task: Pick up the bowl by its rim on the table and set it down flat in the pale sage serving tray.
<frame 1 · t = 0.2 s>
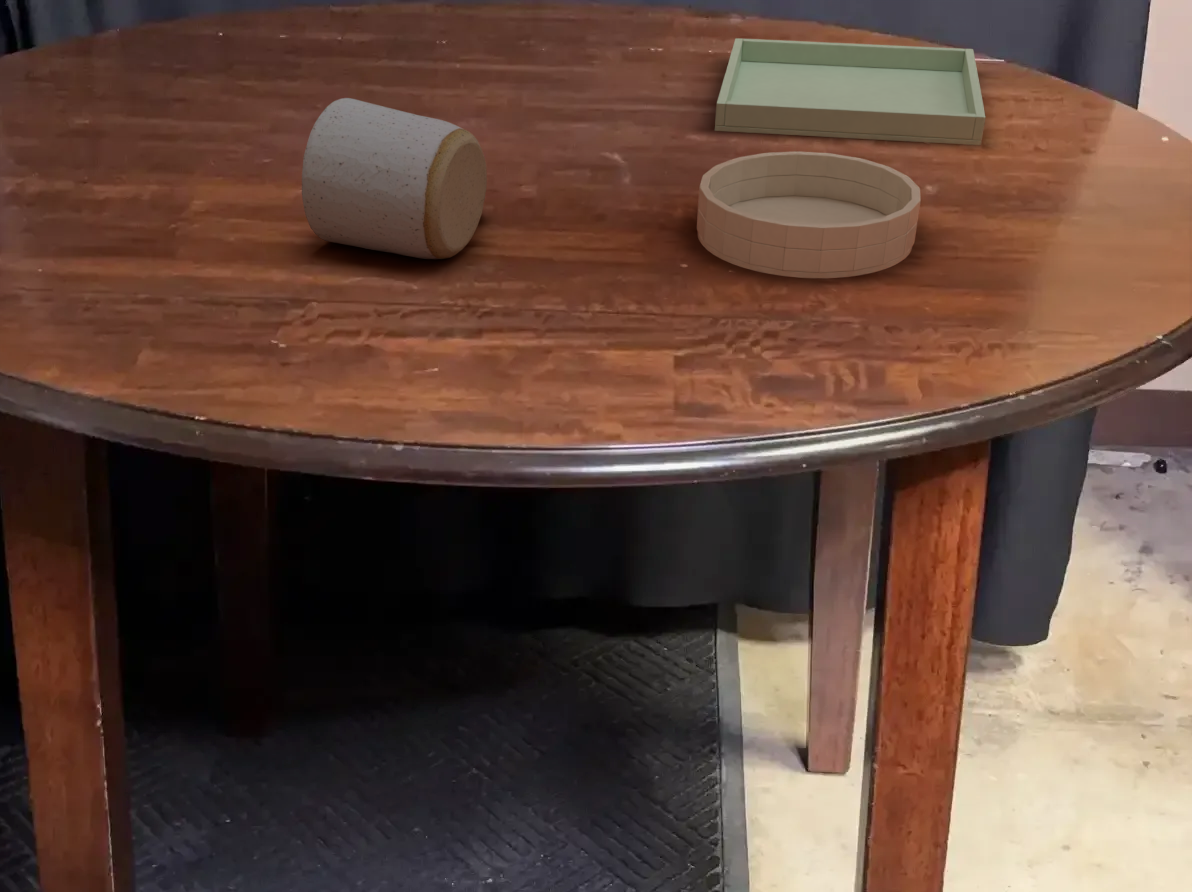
tray: (847, 103, 106), on the table
ceramic mug: (408, 243, 86), on the table
bowl: (803, 239, 85), on the table
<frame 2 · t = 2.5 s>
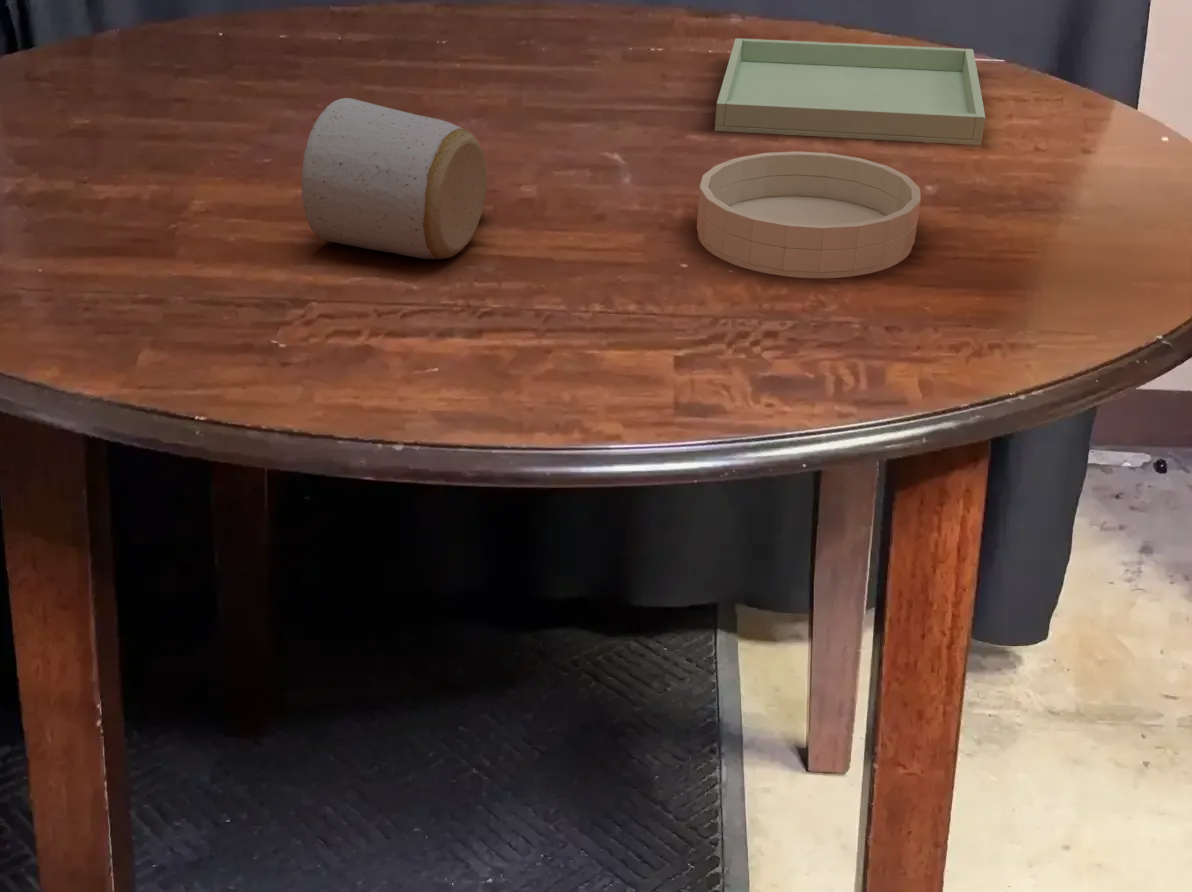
nothing on the table moved.
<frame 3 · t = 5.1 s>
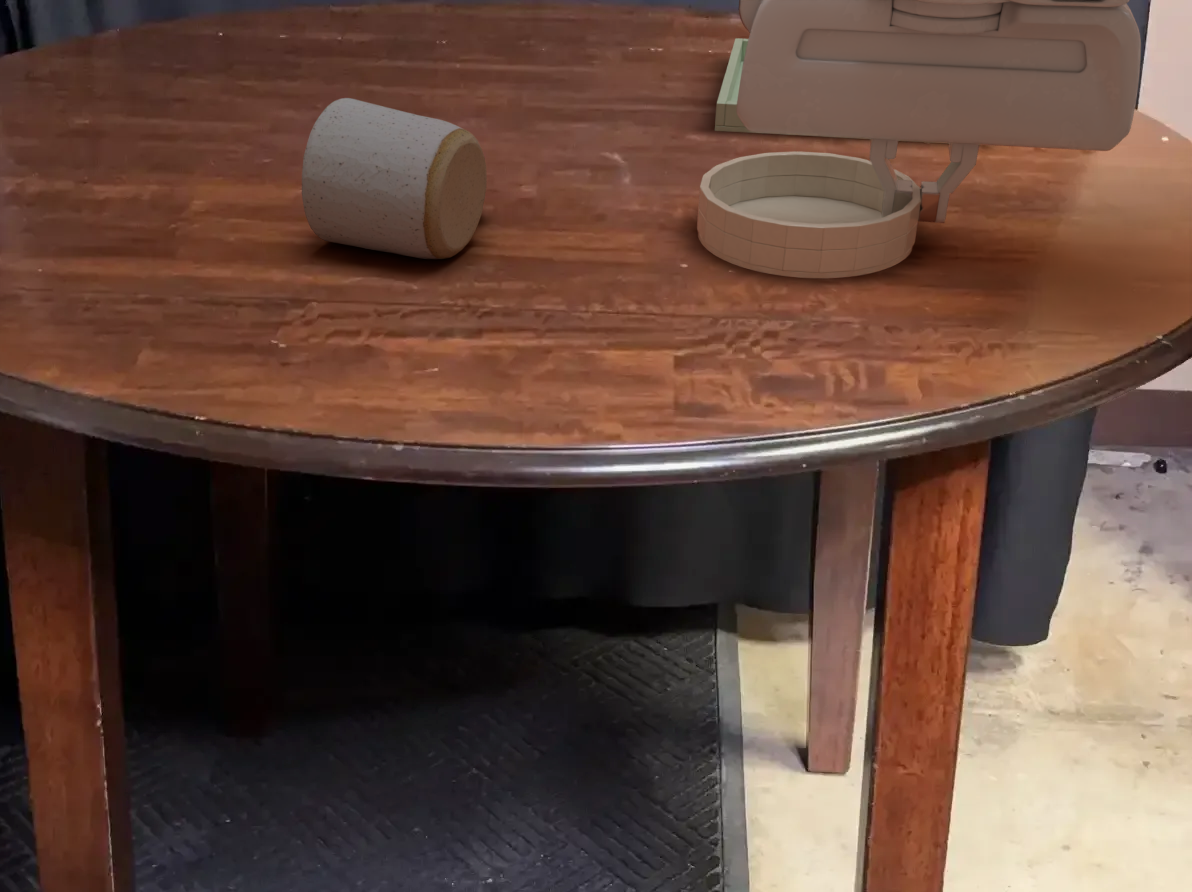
hand: (912, 218, 83), 2 cm above the table, tool pointing down, fingers closed on bowl
bowl: (804, 239, 85), on the table, touching gripper
everything else where it was.
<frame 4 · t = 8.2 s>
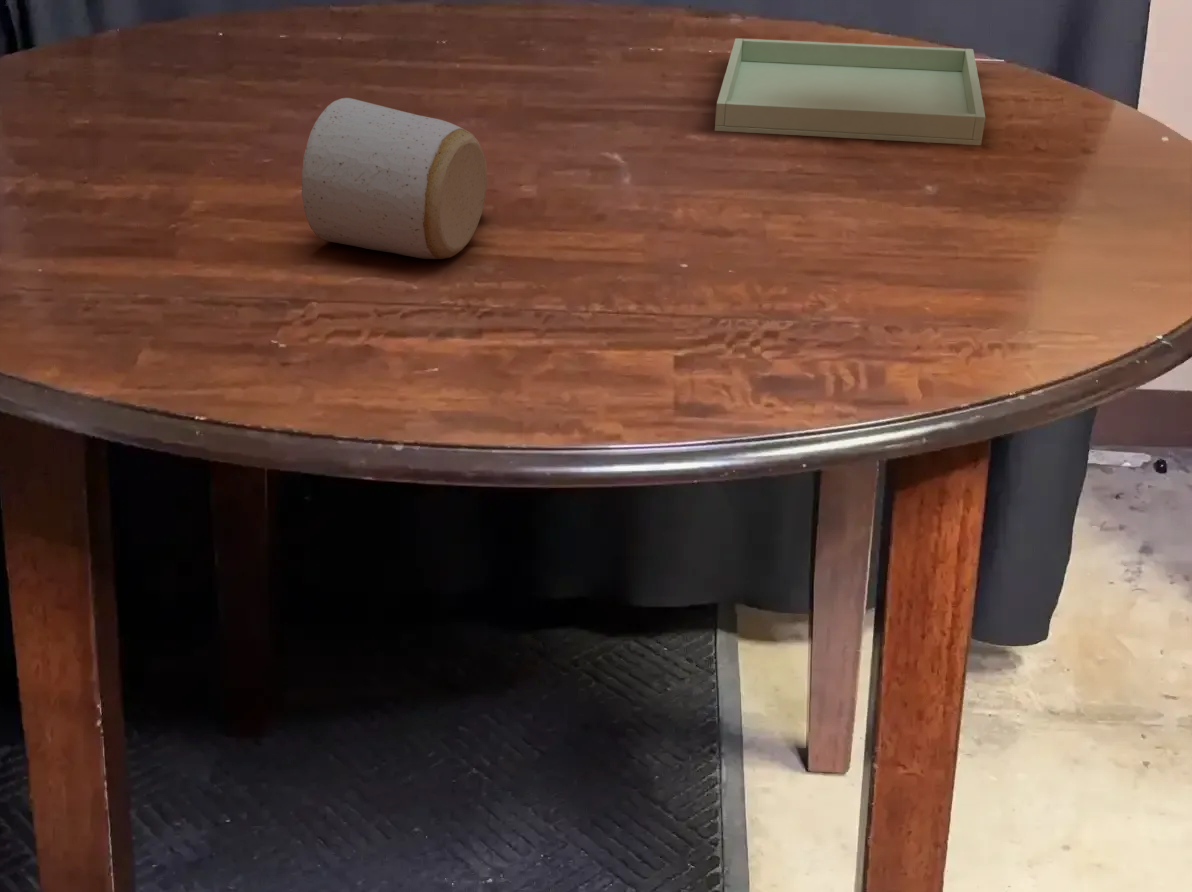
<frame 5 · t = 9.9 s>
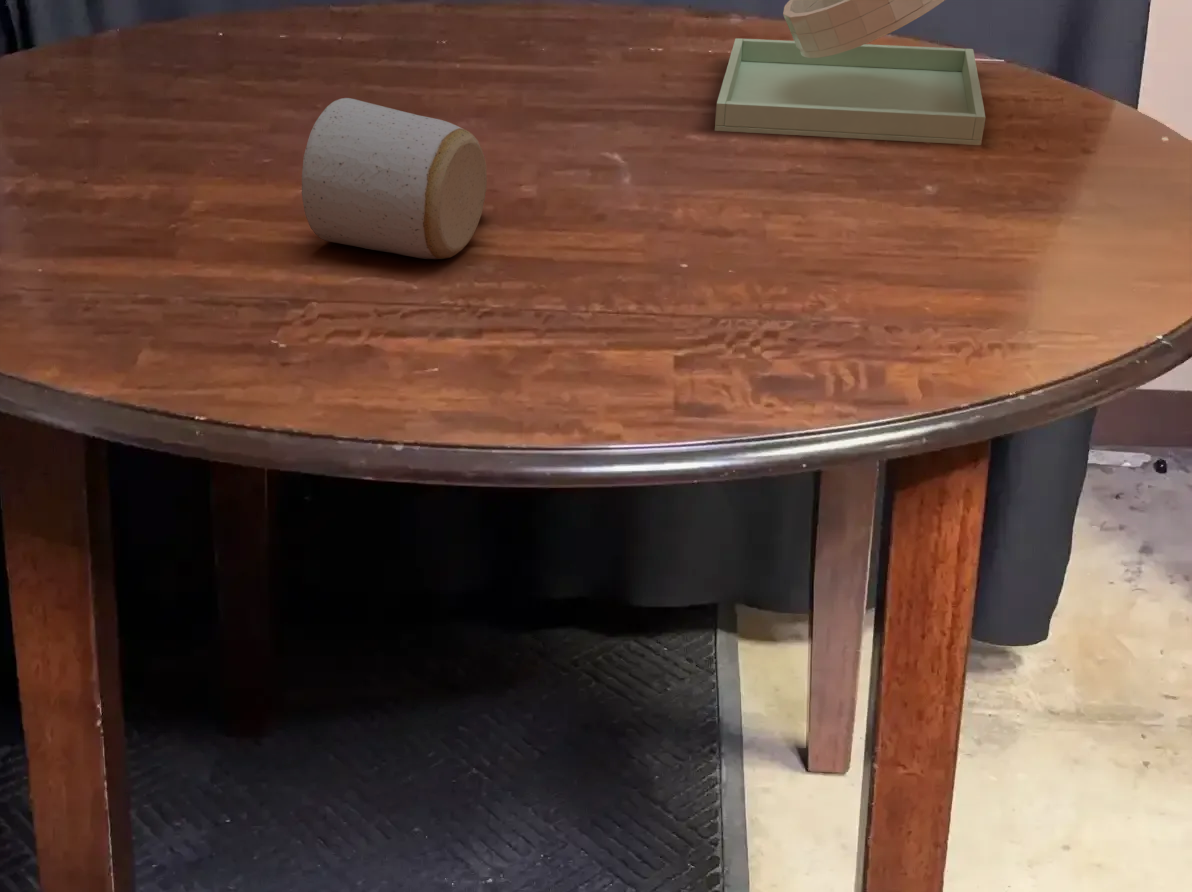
bowl: (884, 10, 102), point 6 cm above the table, tilted 28°, touching gripper
everything else where it was.
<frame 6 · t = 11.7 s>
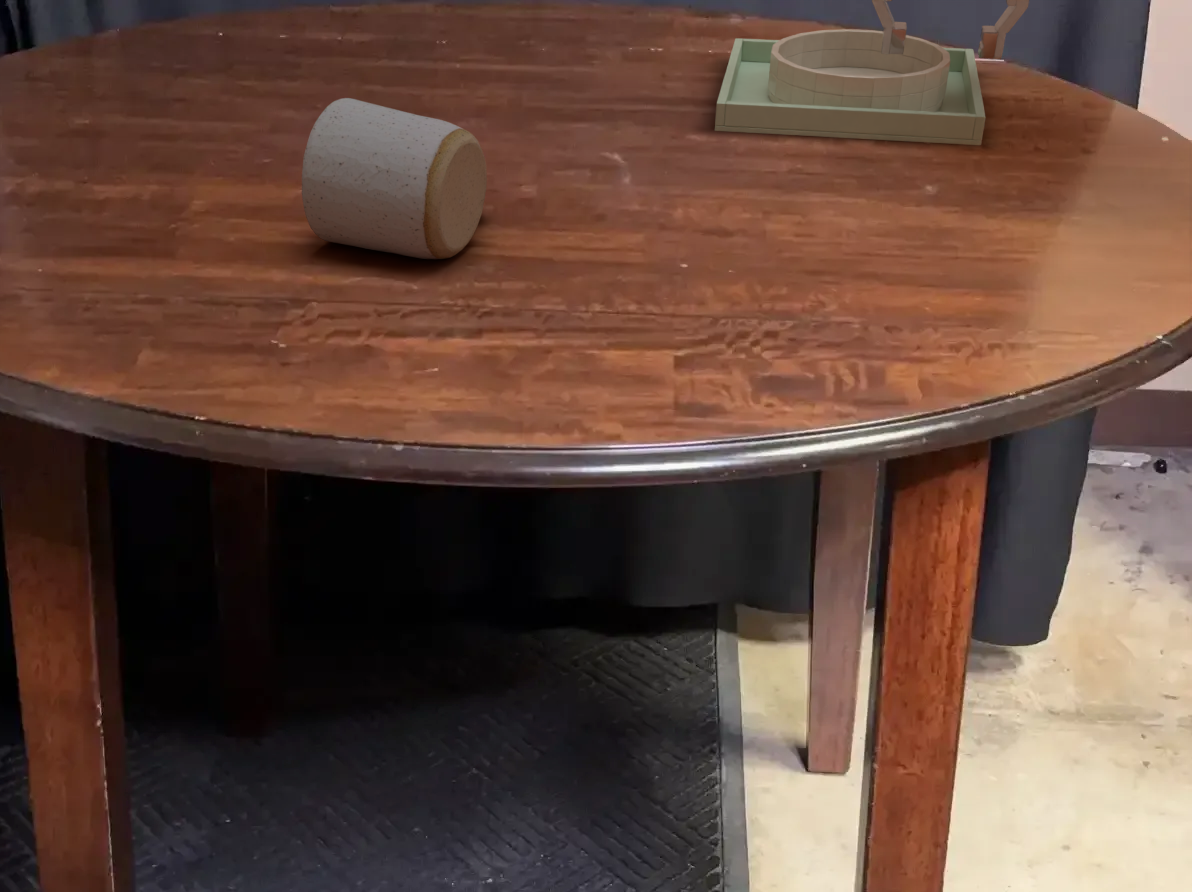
hand: (940, 54, 103), 4 cm above the table, tool pointing down, fingers open, 5 cm apart
bowl: (854, 96, 105), point 1 cm above the table, touching tray
everything else where it was.
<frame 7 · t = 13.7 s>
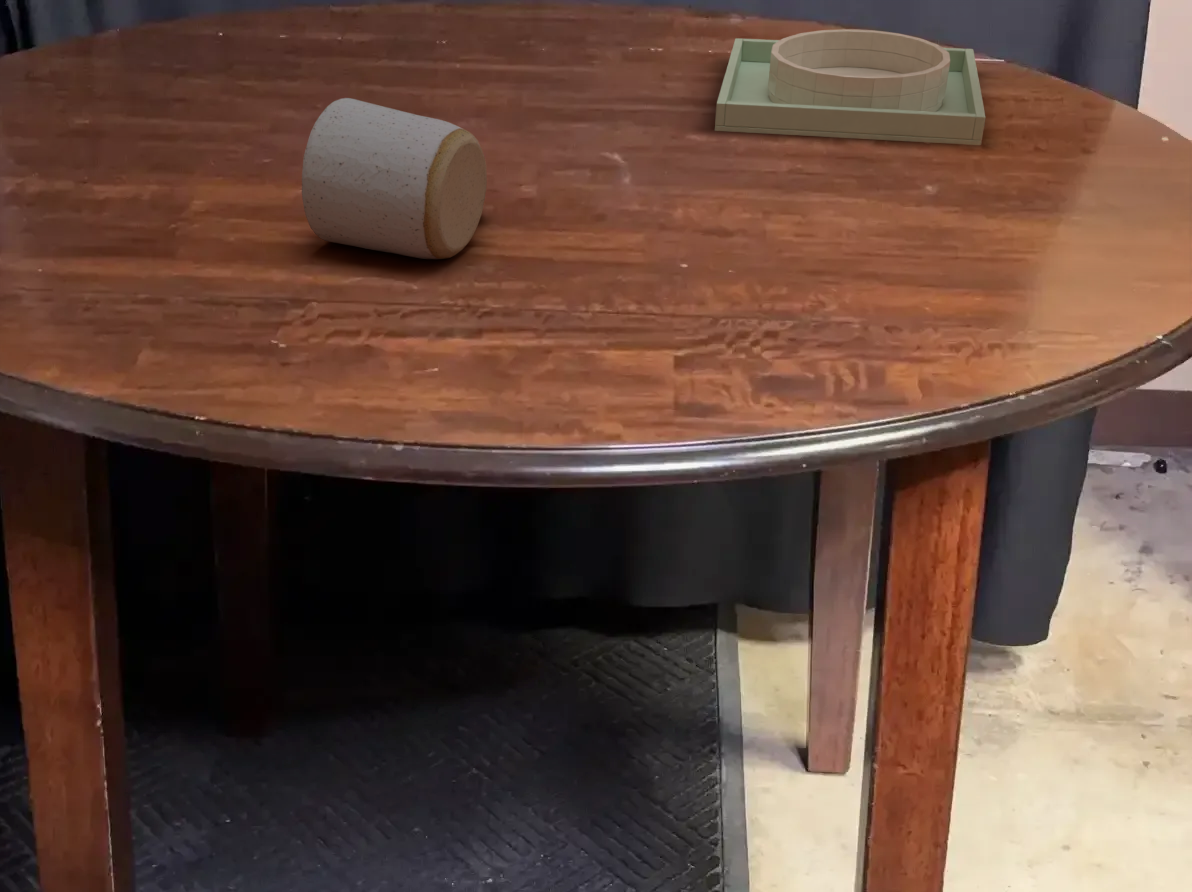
nothing on the table moved.
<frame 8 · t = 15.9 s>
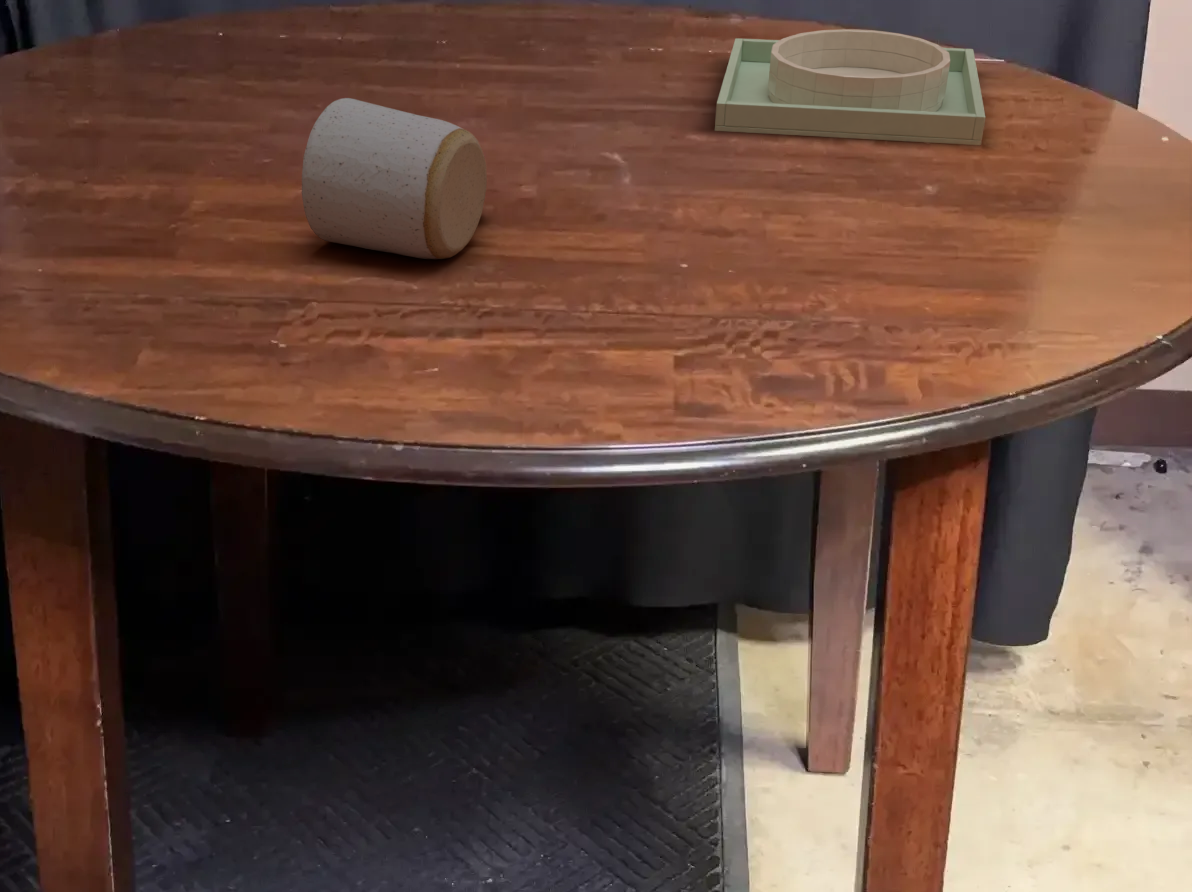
nothing on the table moved.
at the end: bowl inside the target area in the tray (0.4 cm from its centre), point 0.5 cm above the tray's base; bowl tilted 0°; the gripper is holding nothing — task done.
